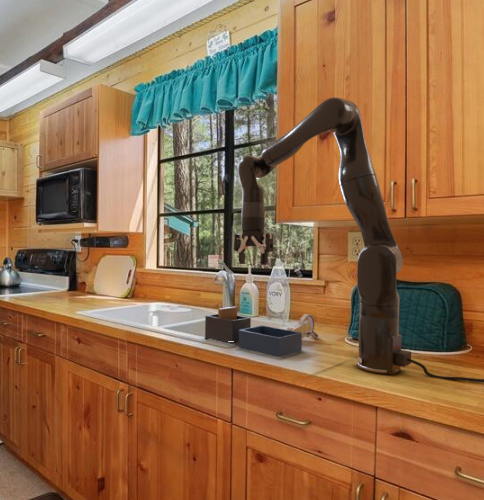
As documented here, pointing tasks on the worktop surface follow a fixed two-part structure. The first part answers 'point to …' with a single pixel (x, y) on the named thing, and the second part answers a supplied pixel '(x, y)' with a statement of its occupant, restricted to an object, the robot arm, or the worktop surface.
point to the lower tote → (270, 340)
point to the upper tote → (225, 325)
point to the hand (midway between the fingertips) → (252, 264)
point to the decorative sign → (305, 327)
